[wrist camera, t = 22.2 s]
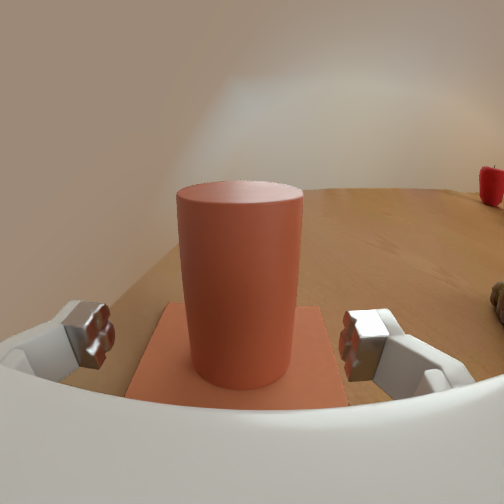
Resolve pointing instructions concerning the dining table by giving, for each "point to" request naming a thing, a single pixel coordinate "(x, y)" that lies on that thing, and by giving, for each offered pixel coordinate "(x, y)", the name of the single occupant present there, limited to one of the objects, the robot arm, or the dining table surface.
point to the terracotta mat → (265, 398)
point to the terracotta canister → (240, 278)
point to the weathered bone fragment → (498, 299)
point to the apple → (491, 185)
